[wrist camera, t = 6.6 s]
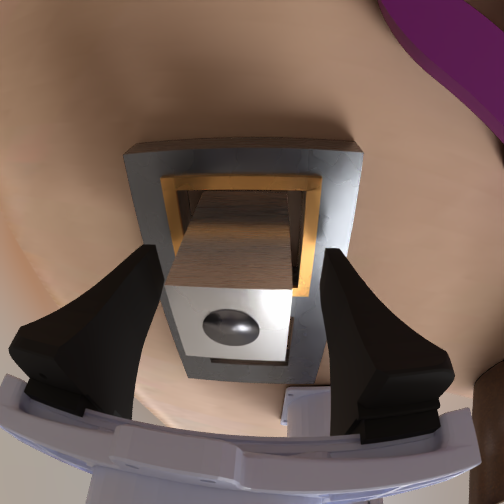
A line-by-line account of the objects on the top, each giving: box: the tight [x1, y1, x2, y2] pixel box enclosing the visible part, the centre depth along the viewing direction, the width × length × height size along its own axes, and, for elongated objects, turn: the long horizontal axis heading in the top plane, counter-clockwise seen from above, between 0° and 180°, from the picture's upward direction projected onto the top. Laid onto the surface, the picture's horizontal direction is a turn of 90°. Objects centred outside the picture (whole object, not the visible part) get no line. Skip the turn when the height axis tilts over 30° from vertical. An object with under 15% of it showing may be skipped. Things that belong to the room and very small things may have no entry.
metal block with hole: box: [164, 191, 293, 361], centre depth 13 cm, size 4×4×7 cm
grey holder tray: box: [123, 137, 364, 384], centre depth 18 cm, size 18×10×2 cm, turn 1°
